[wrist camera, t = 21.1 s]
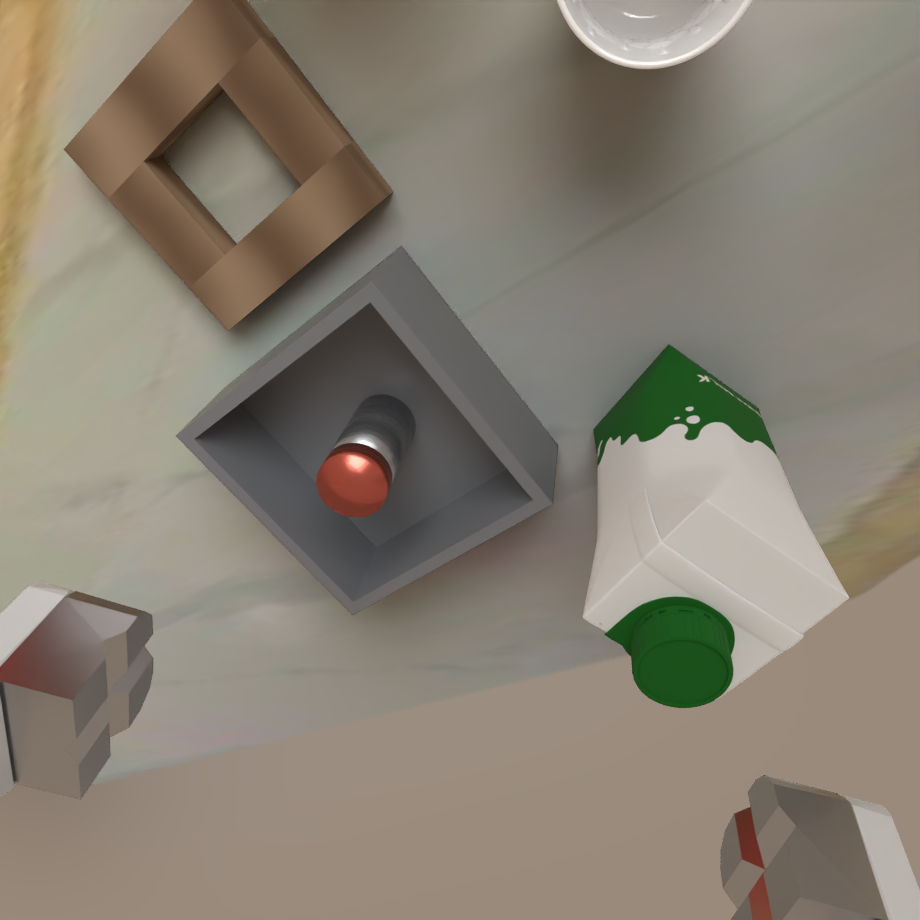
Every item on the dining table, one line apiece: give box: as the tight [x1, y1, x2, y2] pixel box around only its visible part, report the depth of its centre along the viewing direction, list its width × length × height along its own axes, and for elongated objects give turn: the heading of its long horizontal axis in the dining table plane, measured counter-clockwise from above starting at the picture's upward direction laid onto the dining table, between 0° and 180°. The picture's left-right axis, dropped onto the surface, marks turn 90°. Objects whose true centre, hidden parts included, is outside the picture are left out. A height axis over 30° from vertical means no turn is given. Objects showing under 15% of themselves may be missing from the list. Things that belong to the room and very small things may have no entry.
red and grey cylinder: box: [316, 394, 415, 517], centre depth 46 cm, size 4×4×8 cm
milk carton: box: [582, 345, 849, 708], centre depth 39 cm, size 9×9×20 cm
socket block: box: [64, 0, 393, 331], centre depth 43 cm, size 13×13×2 cm
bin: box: [176, 246, 558, 615], centre depth 48 cm, size 16×16×7 cm
